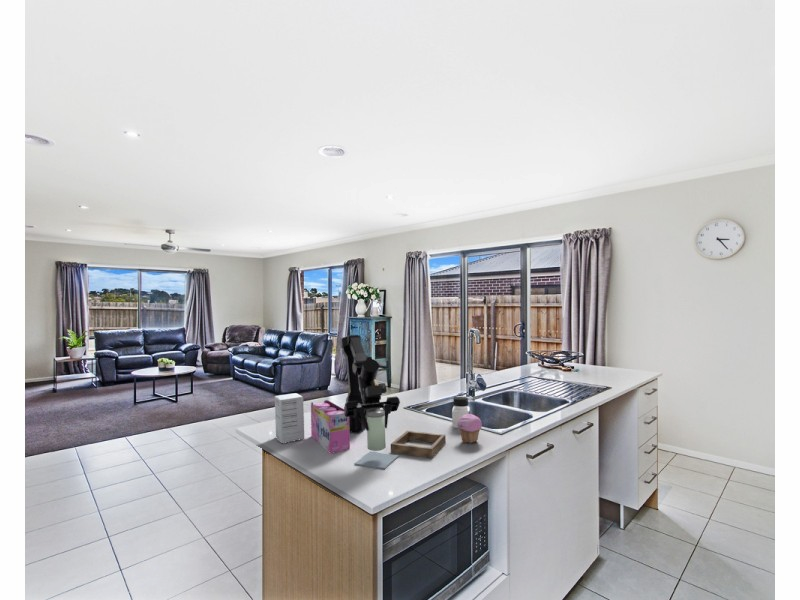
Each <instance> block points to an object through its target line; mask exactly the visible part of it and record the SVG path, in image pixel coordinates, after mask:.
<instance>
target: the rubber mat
mask: <svg viewBox="0 0 800 600" xmlns="http://www.w3.org/2000/svg"><path fill="white" fill-rule="evenodd" d="M399 457H400V454H399V455H398V454H390V453H383V452H378V451H368V452H367V453H366V454H365V455H364V456H362V457H361V458H360V459H358V460H357V461H356V462H354V463H353V464H354V466H358V467H366V468H373V469H380V470H386V469H387V468H389V466H390V465H392V464H393V463H394V462H395V461H396V460H398V458H399Z"/></svg>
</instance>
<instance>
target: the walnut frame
mask: <svg viewBox="0 0 800 600" xmlns="http://www.w3.org/2000/svg"><path fill="white" fill-rule="evenodd" d="M408 441H417V442H424V443H426V442H427V443H432V444H431V446H430V447H429V446H421V445H413V444H406V443H407V442H408ZM446 442H447V441H446V434H443V433H441V434H440V433H432V432H421V431H412V430H406V431H404V433H402V434H401V435H400V436H398V437H397V438H395V440H394V441H392V442H391V443H390V453H393V454H397V455H398V454H399V455H408V456H413V457H414V456H415V457H422V458H429V457H431V459H433V458H434V457H435V456H436V455H435V454H437V453H439V451H440V450H441V449H442V447H444V445H446Z"/></svg>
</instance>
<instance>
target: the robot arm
mask: <svg viewBox="0 0 800 600" xmlns="http://www.w3.org/2000/svg"><path fill="white" fill-rule="evenodd" d="M339 348H340V349H341V352H342V353H341V354H343V356H344V357H345V360H346V370H347V371H346V372H347V383H348V386H349V394H348V393H347V396H346V399H345V402H344V407H343V409H344V413H345V417H349V427H350V433H353V434H360V433H361V432H362V431H364V430H366V432H367V431H368V430H369V428H368V423H367V420H366V417H365V416H366V410H368V409H377V408H380V409H382V410H384V411H385V429H387V428H388V423H389V415H390V414H391V412H392V413H393V412H396V411H398V410H399V407H400V403H401V400H400V398H399V397H398V396H397V395H396V396H395V395H394V396H388V397H386V400H385V401H381V400H382V395H383V394H386V393H387V389H388V388H387V385H386V383H385V382H382V383H379V384H378V385H377V386H376V385H375V381H376V379H377V376H378V374H379V373H378V372H379V369H380V363H379V362H378V361H377V360H375V359H373V358H372V356H369V355H368V354H366V352H365V350H364V347H363V343H362V336H361V335H360V334H349V335H347V336H344V337H342V338H341V339H340V340H339ZM358 377H359V378H358ZM374 380H375V381H374ZM359 386H360V389H359ZM360 391H361V392H360ZM379 400H380V402H379Z"/></svg>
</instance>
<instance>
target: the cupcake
mask: <svg viewBox="0 0 800 600" xmlns="http://www.w3.org/2000/svg"><path fill="white" fill-rule="evenodd" d="M458 427H459V428H458V429H459V430H460V436H461V441H462V443H463V442H464V443H467V442H469V443H468V444H473V443H474V442H477V441H478V439H479V434H480V431H481V429H482V427H483V424H482V420H481V419H480V417H478V416H477V415H475V414H472V413H470V414H466V415H463V416H462V417H461V418H460V419H459V421H458Z"/></svg>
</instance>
